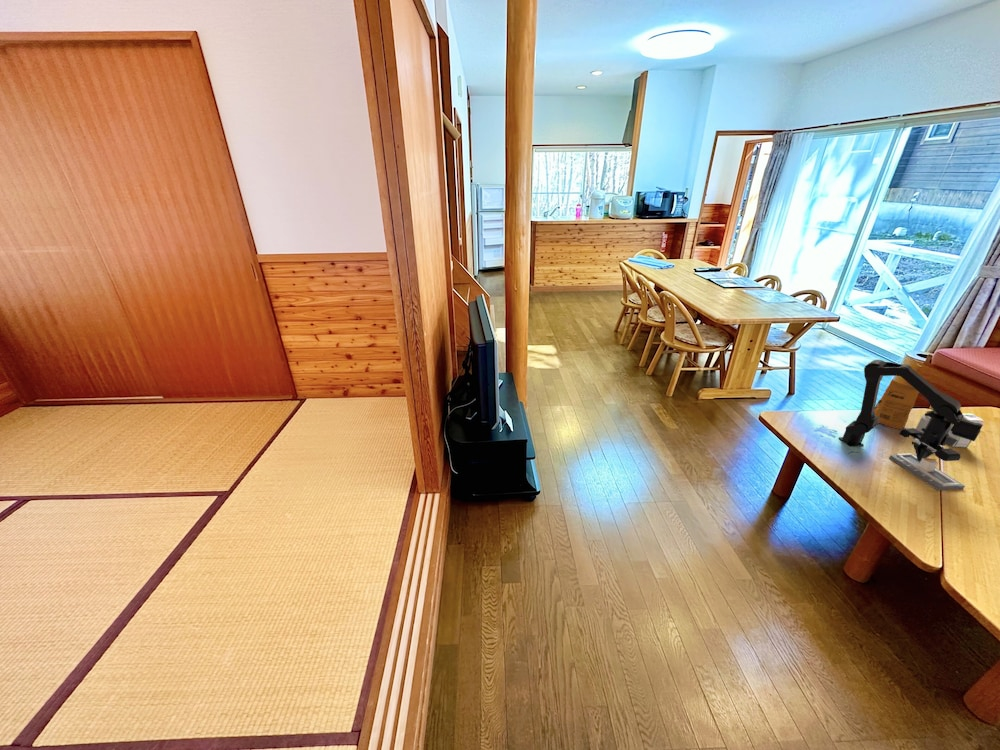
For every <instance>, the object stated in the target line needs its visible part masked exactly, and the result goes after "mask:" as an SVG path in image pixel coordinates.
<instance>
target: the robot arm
mask: <svg viewBox="0 0 1000 750" xmlns="http://www.w3.org/2000/svg"><path fill="white" fill-rule="evenodd" d="M863 370H864V371H863V372H864V373H863V375H864V378H865V387H864V391H863V392H864V393H863V399H862V403H861V409H860V412H859V414H858V415H857V417H856V419H855V420H853V421H852V422H850V423H849V424H848V425H847V426H846V427H845V431H844V434H843V435H842V437H838V439H839V440H840V441H841V442H842V443H844V444H846V445H847V446H849V447H863V446H864V445H865V444H864V443H863V440H864V438H865V434H867V433H869V432H870V431H872V430H874V429H875V428H876V427H877V426H878V425H879V423H878V419H879V416H875V413H874V410H875V406H876V404H877V399H878V394H879V389H880V385H881V381H882V379H883V377H887V376H888V377H890V376H891V377H893V376H895V377H896V376H897V377H901V378H902V379H903V380H904V381H905V382H906V383H907V384H908V385H911V386H912V387H914V388H915V389H916V390H917V391H918V392H919V394H920V395H921V396H923V397H924V398H925V399H926V401H928V404H929V405H930V407H931V408H932V409H933V410H928V411H926V412H925V413H924V415H925V416H928V417H931V418H930V420H929V422H928V424H927V426H926V428H922V431H924V432H923V433H922V432H920V431H918V430H916V428H915V427H909V428H903V429H900V431H899V433H898V435H900V436H901V437H903V438H910V437H911V438H913V439H914V441H912V442H911V445H912V446H913V448H914V451H915V455H916V456H917V460H918V461H921V460H922V458H930V456H932V455H935V457H937V458H938V459H940V460H942V461H945V462H952V461H953V462H955V461H960V459H961V458H962V455H961V453H960V452H958V451H956V450H954V449H952V448H944V446H946V445H947V446H950V447H953V446H952V445H953V444H954V443H955V442H956V441H957V439H955V438H953V437H951V436H949V434H948V433H947V431H948V429H949V427H950V426H951V424H954V425H953V427H952V429H951V431H952V434H953V435H956V436H959V437H962V438H965V439H968V440H971V442H975V441H976V440H977V438H978V437H979V435H980V433H981V430H982V428H983V426H984V425H983V423H982V424H979V423H974V422H971V421H967V420H964V419H963V417H964V416H963V414H964V413H962V411H961V407H962V404H961V402H960V401H959V400H957V399H955V398H953V397H952V396H950V395H948V394H946V393H943V392H941V391H940V390H939V389H937V387H935V386H934V385H932V384H931V382H929V381H927V379H925V378H924V377H923V376H922V375H920V373H918V372H917V371H916V370H915V369H913V367H912V366H911V365H910V364H901V363H896V362H893V361H892V362H891V361H890V362H889V361H884V360H883V359H874V360H872V361H869V363H868V364H866V365H865V366H864V368H863Z"/></svg>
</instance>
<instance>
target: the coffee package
mask: <svg viewBox="0 0 1000 750" xmlns="http://www.w3.org/2000/svg"><path fill="white" fill-rule="evenodd" d="M919 394H920V393H919V392H918V391H917V390H916V389H915V388H914V387H912V386H911V385H910V384H908V383H907V384H906V383H904V382H901V381H898V380H896V379H893V378H892V379H891V381H890V383H889V384H888V386H887V388H886V389H885V390H884V392H883V394H882V396H881V397H880V399H879V400H878V401H877V402H876V405H875V410H874V413H875V416H879V419H878V424H881V425H884V426H885V425H886V427H888V426H889V428H892V427H894V429H898V430H902V429H904V427H905V426H906V425H907V422H908V419H909V415H910V413H911V411H912V409H913V408H914V406H915V403H916V401H917V398H918V395H919Z"/></svg>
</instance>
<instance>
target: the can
mask: <svg viewBox="0 0 1000 750" xmlns="http://www.w3.org/2000/svg"><path fill="white" fill-rule="evenodd" d="M930 418H931V417H928V416H925V414H923V415H922V416H921V418H920V419H919V421H918V423H917V426H916V428H915V429H916V430H918V431H920V432H922V433H923V432H924V431H922V428H926V426H927V424H928V422H929V420H930Z"/></svg>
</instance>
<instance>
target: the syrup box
mask: <svg viewBox="0 0 1000 750" xmlns="http://www.w3.org/2000/svg"><path fill="white" fill-rule="evenodd" d="M962 414H963V416H964V417H963V419H964V420H967V421H971V422H974V423H979V424H983V423H984V422H985V420H983V419H982V418H981V417H979V416H977V415H975V414H973V413H962ZM953 425H954V424H951V426H950V427H949V429H948V431H947V433H948V434H949V436H951V437H953V438H955V439H957V441H956V442H955V443H954V444H953V445H952V446H951V447H952V448H968V447H969V445H970V444H971V442H972V441H971V440H968V439H965V438H962V437H959V436H956V435H953V434H952V431H951V429H952V427H953Z"/></svg>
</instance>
